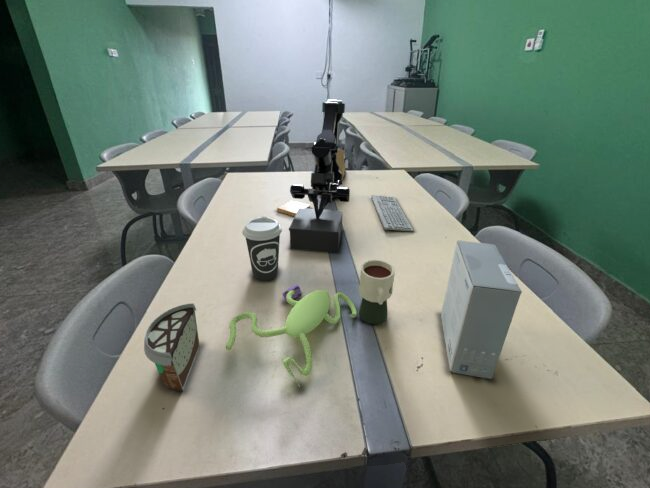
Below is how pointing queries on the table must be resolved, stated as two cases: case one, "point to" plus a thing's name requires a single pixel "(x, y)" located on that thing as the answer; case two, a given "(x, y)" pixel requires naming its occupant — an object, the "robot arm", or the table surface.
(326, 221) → the lid
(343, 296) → the figurine
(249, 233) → the coffee cup
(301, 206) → the toast
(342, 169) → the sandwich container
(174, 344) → the food container
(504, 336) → the hard drive box
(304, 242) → the open black box
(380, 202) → the keyboard
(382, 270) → the character mug
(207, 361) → the table surface
